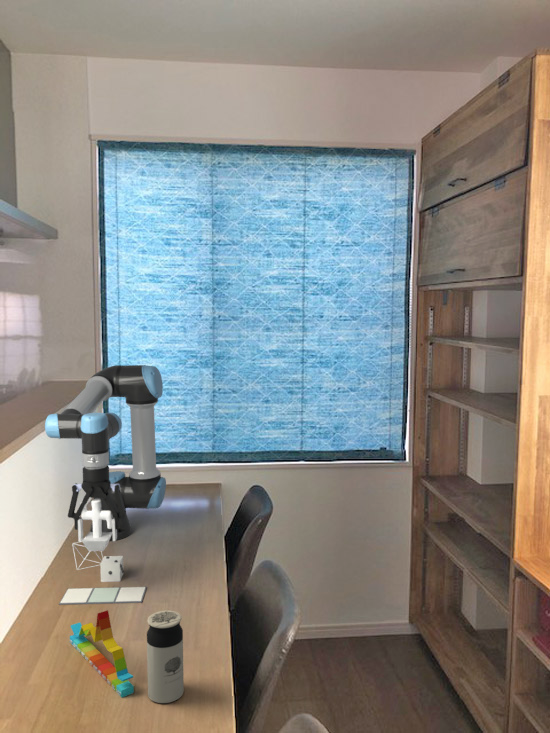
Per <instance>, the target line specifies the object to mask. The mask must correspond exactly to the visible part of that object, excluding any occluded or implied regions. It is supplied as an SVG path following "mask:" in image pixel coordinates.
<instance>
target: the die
mask: <svg viewBox="0 0 550 733" xmlns="http://www.w3.org/2000/svg"><path fill="white" fill-rule="evenodd" d="M101 560H102V561H101V562H100V563H99V566H100V582H101V583H108V582H109V583H111V582H113V583H114V582H116V583H117V582H121V580H122V578H123V575H124V573H125V572H124V571H125V570H124V556H123V555H109V556H108V555H107V556H105V555H104V556H103V559H101Z"/></svg>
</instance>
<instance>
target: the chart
mask: <svg viewBox="0 0 550 733" xmlns="http://www.w3.org/2000/svg"><path fill="white" fill-rule="evenodd" d="M70 629H71V631H72V632H73V634H72V635H70V636H69V643H70V644H71V645H72V646H73V647H74V649H76V651H78V653H79V654H80V655H81V656H82V657H83V658H84V660H86V661H87V662H88V663H89V664H90V665H91V667H92V668H93V669H94V670H95V672H97V673H98V674H99V675H100V676H101V677H102V679H104V681H105V682H106V683H107V684H108V685H109V686H110V687H111V689H113V690H114V691H115V692H116V693H117V694H118V696H120V697H121V698H125V697H127V696H128V695H132V694H134V688H135V687H134V684H133V683H131V682H130V681H129V680H130V679H133V678H134V675H133V674H131V673H129V670H128V665H127V662H126V657H125V653H124V648H123V647H121V646H120V645H119V644H118V643H117V642H116V639H115V638H114V635H113V630H112V625H111V619H110V614H109V610H105V611H101V612H97V616H96V626H94V624H93V621H92V622H88V623H86V624H82V622H76V623H73V624H71V625H70ZM89 636H91V637H92V640H93V643H97V642H101V641H102V644H103V645H104V647H105V649H106V650H107V651H108V652H109V653H110V654H112V658H113V664H114V665H113V664H112V663H111V662H110V661H109V660H108V659H107V657H105V655H104V654H102V653H101V652H100V650H98V649H97V647H96V646H94V644H93V643H92V642H91V641H89V639H88V638H87V637H89Z"/></svg>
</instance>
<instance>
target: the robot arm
mask: <svg viewBox="0 0 550 733" xmlns="http://www.w3.org/2000/svg"><path fill="white" fill-rule="evenodd" d="M161 374H162V373H161V371H160V370H159V368H157V367H156V366H154V365H146V364H135V365H132V364H131V365H130V364H129V365H127V364H126V365H111V366H108V367H106V368H103V369H101V370H100V371H98V372H96V373H94V374H93V375H92V376H91V377H90V378H89V379H88V380H87V381H86V384H85V388H84V389H82V390H81V392H80V393H79V394H78V395H77V396H76V397H75V398H74V399H73V400H72V401H71V402H70V404H68V406H66V408H65V409H64V410H63V411H62V412H60V413H50V414H48V416H47V417H46V419H45V423H44V429H45V434H46V436H47V437H49V438H50V439H58V440H61V439H67V440H68V439H75V440H77V439H78V440H79V439H81V459H82V460H81V462H82V466H83V467H82V483H76V482H75V483H74V484H73V485H72V486H71V491H72V493H71V494H72V495H71V499H70V503H69V504H70V505H69V509H68V513H67V518H68V519H73V521H74V530H75V531H77V533H78V534H77V536H78V537H77V538H78V540H77V542H79V543H82V542H81V541H82V540H83V539H84V520H83V519H82V518H81V512H82V510H83V508H84V506H85V504H86V505H87V504H88V501H89V499H94V498H100V499H101V506H102V507H101V510H109V511H111V513H112V514H113V519H112V529H108V528H107V521H106V520H101V521H102V532H112V535H111V538H110V540H109V542H110V541H111V542H116V541H118V540H121V539H125V538H127V537H129V536H130V535H131V534H132V525H131V523H130V520H129V517H128V515H127V510H126V509H142V510H145V509H146V510H151V509H152V510H153V509H159V508H160V507H161V506H162V504H163V501H164V499H165V495H166V488H167V487H166V486H167V481H166V480H167V479H166V477H163V476H161V470H160V469H158V468H157V455H156V454H157V452H156V429H155V428H156V425H155V424H156V423H155V421H156V419H155V406H156V405H157V404H158V402H159V398H161V397H162V396H163V389H164V386H163V385H164V382H163V379H162V375H161ZM110 398H125V404H126V405H127V406H128V407H129V408H130V410H129V411H130V429H131V430H130V432H131V433H130V434H131V435H130V436H131V455H132V456H131V457H132V470H131V471H130V472H129V473H128V476H126V473H125V472H124V471H121V470H120V471H117V470H116V471H110V466H109V464H110V458H109V457H110V455H109V440H110V439H112V438H114V437H115V436H117V435H118V433H120V432H121V430H122V427H123V426H122V425H123V423H122V419H121V418H120V415H118V414H116V413H115V412H105V413H103V412H95V411H96V410H97V409H98V407H99V406H100V405H101V404H102V403H103V402H105V401H107V400H109V399H110ZM81 490H83V491H84V493H85V495H84V496H83V499H82V501H81V502H82V503H81V502H80V504H81V505H80V504H79V507H78V508H77V511H75V510H76V506H77V502H78V498H79V494H80V491H81ZM91 521H92V520H91ZM89 532H93V521H92V522H91V525H90V529H89Z"/></svg>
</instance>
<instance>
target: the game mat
mask: <svg viewBox="0 0 550 733" xmlns="http://www.w3.org/2000/svg"><path fill="white" fill-rule="evenodd" d="M146 592H147V586H123V587H120V586H119V587H118V586H116V587H114V586H113V587H84V588H83V587H81V588H80V587H78V588H76V587H75V588H67V589H66V591H65V593H64V594H63V595H62V597H61V600H60V601H59V603H58V605H59V606H60V605H63V606H65V605H95V604H96V605H101V604H104V605H105V604H106V605H107V604H138V603H139V604H142V603H143V600H144V597H145V594H146Z"/></svg>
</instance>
